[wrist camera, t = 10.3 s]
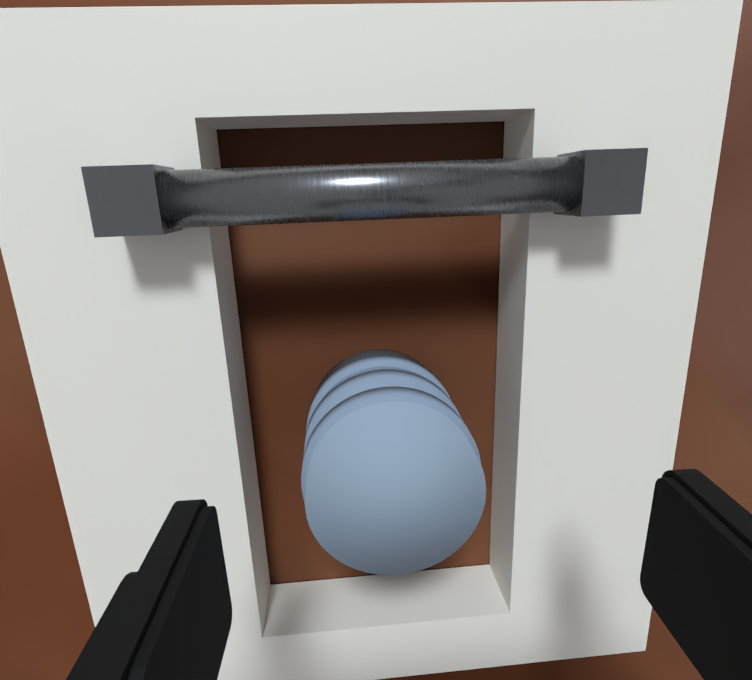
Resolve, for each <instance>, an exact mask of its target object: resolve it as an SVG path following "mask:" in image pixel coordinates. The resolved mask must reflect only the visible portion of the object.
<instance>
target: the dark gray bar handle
mask: <svg viewBox="0 0 752 680" xmlns="http://www.w3.org/2000/svg"><path fill="white" fill-rule="evenodd" d="M647 155H648V148H626V149H596V150H582V151H576V152H571V153H565V154H559V155H557V157H537V158H508V159H479V160H450V161H420V162H391V163H362V164H333V165H303V166H274V167H245V168H216V169H186V170H174V168H172V167H166V166H160V165H154V164H146V165H115V166H85V167H81V171H82V176H83V181H84V186H85V191H86V196H87V201H88V207H89V212H90V217H91V222H92V227H93V232H94V237H95V238H96V237H119V236H142V235H164V234H168V233H172V232H176V231H180V230H183V228H191V227H214V226H238V225H262V224H286V223H309V222H333V221H357V220H380V219H404V218H428V217H451V216H475V215H499V214H523V213H546V212H554V214H558V215H569V216H579V217H584V216H607V215H631V214H641V209H642V200H643V191H644V182H645V173H646V164H647Z"/></svg>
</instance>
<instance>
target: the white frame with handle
mask: <svg viewBox="0 0 752 680" xmlns="http://www.w3.org/2000/svg"><path fill="white" fill-rule="evenodd" d="M742 5H743V0H660V1H573V2H487V3H401V4H314V5H228V6H142V7H55V8H0V247H1V251H2V255H3V259H4V263H5V267H6V271H7V275H8V279H9V283H10V287H11V291H12V295H13V299H14V303H15V307H16V312H17V316H18V320H19V324H20V328H21V332H22V336H23V340H24V344H25V348H26V352H27V356H28V360H29V364H30V368H31V372H32V376H33V380H34V384H35V388H36V392H37V396H38V400H39V404H40V408H41V412H42V416H43V420H44V424H45V428H46V432H47V436H48V440H49V444H50V448H51V452H52V456H53V460H54V464H55V468H56V472H57V476H58V480H59V484H60V488H61V492H62V496H63V500H64V505H65V509H66V513H67V517H68V521H69V525H70V529H71V533H72V537H73V541H74V545H75V549H76V553H77V557H78V561H79V565H80V569H81V573H82V577H83V581H84V585H85V589H86V593H87V597H88V601H89V605H90V609H91V613H92V617H93V621H94V625H95V627H96V625H97V624H98V622H99V620H100V618H101V617H102V615H103V613H104V611H105V609H106V608H107V606H108V604H109V602H110V600H111V599H112V597H113V595H114V593H115V592H116V590H117V588H118V586H119V584H120V583H121V581H122V580H123V578H124V577H125V575H127V574H128V573H130V572H138V570H139V568H140V566H141V564H142V562H143V561H144V559H145V557H146V555H147V553H148V551H149V549H150V547H151V546H152V544H153V542H154V540H155V538H156V536H157V534H158V532H159V530H160V529H161V527H162V525H163V523H164V521H165V519H166V517H167V515H168V514H169V512H170V510H171V508H172V506H173V504H174V503H175V502H176V501H183V500H199V499H204V500H206V502H207V505H208V506H215V507H216V510H217V515H218V522H219V528H220V534H221V540H222V547H223V553H224V559H225V565H226V572H227V578H228V584H229V591H230V597H231V603H232V623H231V628H230V632H229V636H228V640H227V644H226V647H225V651H224V655H223V659H222V663H221V667H220V671H219V674H218V678H217V680H376V679H386V678H395V677H404V676H414V675H423V674H432V673H442V672H451V671H460V670H470V669H479V668H488V667H497V666H507V665H516V664H525V663H535V662H544V661H553V660H563V659H572V658H581V657H591V656H600V655H609V654H619V653H628V652H637V651H645V649H646V643H647V636H648V629H649V623H650V616H651V609H652V606H651V604H650V603H649V602H648V600H647V599H646V597H645V595H644V594H643V591H642V589H641V585H640V573H641V567H642V561H643V555H644V549H645V543H646V537H647V530H648V524H649V518H650V512H651V506H652V500H653V494H654V488H655V483H656V480H657V479H658V478H662V475H663V473H664V472H665V471H668V470H673V463H674V456H675V450H676V443H677V437H678V430H679V423H680V417H681V410H682V403H683V397H684V390H685V383H686V377H687V370H688V363H689V357H690V350H691V344H692V337H693V330H694V324H695V317H696V310H697V304H698V297H699V290H700V284H701V277H702V270H703V264H704V257H705V250H706V244H707V237H708V231H709V224H710V217H711V211H712V204H713V197H714V191H715V184H716V177H717V171H718V164H719V157H720V151H721V144H722V137H723V131H724V124H725V118H726V111H727V104H728V98H729V91H730V84H731V78H732V71H733V64H734V58H735V51H736V44H737V38H738V31H739V24H740V18H741V11H742ZM496 121H504V149H503V159H508V158H537V157H557V155H559V154H565V153H571V152H576V151H582V150H596V149H626V148H648V155H647V164H646V173H645V182H644V191H643V200H642V209H641V214H631V215H607V216H584V217H579V216H569V215H558V214H554V212H546V213H523V214H501V237H500V266H499V296H498V325H497V355H496V384H495V413H494V443H493V472H492V502H491V531H490V561H489V565H478V566H468V567H457V568H446V569H435V570H424V571H416V572H412V573H407V574H401V575H370V576H360V577H349V578H338V579H327V580H316V581H306V582H295V583H284V584H273V585H270V577H269V569H268V560H267V552H266V544H265V535H264V527H263V518H262V510H261V501H260V493H259V485H258V476H257V468H256V459H255V451H254V442H253V434H252V426H251V417H250V409H249V400H248V392H247V383H246V375H245V367H244V358H243V350H242V341H241V333H240V325H239V316H238V308H237V299H236V291H235V282H234V274H233V266H232V257H231V249H230V240H229V232H228V226H214V227H191V228H183V230H180V231H176V232H172V233H168V234H164V235H142V236H119V237H96V238H95V237H94V232H93V227H92V222H91V217H90V212H89V207H88V201H87V196H86V191H85V186H84V181H83V176H82V171H81V167H85V166H115V165H146V164H154V165H160V166H166V167H172V168H174V170H186V169H216V168H221V164H220V156H219V148H218V139H217V131H216V130H218V129H253V128H288V127H323V126H357V125H392V124H427V123H462V122H496Z"/></svg>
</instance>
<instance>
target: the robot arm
mask: <svg viewBox="0 0 752 680" xmlns="http://www.w3.org/2000/svg"><path fill="white" fill-rule="evenodd" d="M640 585H641V589H642V591H643V594H644V595H645V597H646V599H647V600H648V602H649V603H650V604H651V606H652V607H653V609H654V610H655V611H656V613H657V614H658V616H659V617H660V618H661V620H662V621H663V623H664V624H665V625H666V627H667V628H668V630H669V631H670V633H671V634H672V635H673V637H674V638H675V640H676V641H677V642H678V644H679V645H680V647H681V648H682V649H683V651H684V652H685V654H686V655H687V656H688V658H689V659H690V661H691V662H692V664H693V665H694V666H695V668H696V669H697V671H698V672H699V673H700V675H701V676H702V678H703V679H704V680H752V514H750V513H749V512H748V511H747V510H746V509H744V508H743V507H742V506H741V505H740V504H738V503H737V502H736V501H735V500H734V499H732V498H731V497H730V496H729V495H728V494H726V493H725V492H724V491H723V490H722V489H720V488H719V487H718V486H717V485H716V484H714V483H713V482H712V481H711V480H710V479H708V478H707V477H706V476H705V475H704V474H702V473H701V472H700V471H698V470H696V469H681V470H668V471H665V472H664V473H663V475H662V478H658V479H657V480H656V483H655V488H654V494H653V500H652V506H651V512H650V518H649V524H648V530H647V537H646V543H645V549H644V555H643V561H642V567H641V573H640ZM231 623H232V603H231V597H230V591H229V584H228V578H227V572H226V565H225V559H224V553H223V547H222V540H221V534H220V528H219V522H218V515H217V510H216V507H215V506H208V505H207V502H206V500H204V499H199V500H183V501H176V502H175V503H174V504H173V506H172V508H171V510H170V512H169V514H168V515H167V517H166V519H165V521H164V523H163V525H162V527H161V529H160V530H159V532H158V534H157V536H156V538H155V540H154V542H153V544H152V546H151V547H150V549H149V551H148V553H147V555H146V557H145V559H144V561H143V562H142V564H141V566H140V568H139V570H138V572H130V573H128V574H127V575H125V577H124V578H123V580H122V581H121V583H120V584H119V586H118V588H117V590H116V592H115V593H114V595H113V597H112V599H111V600H110V602H109V604H108V606H107V608H106V609H105V611H104V613H103V615H102V617H101V618H100V620H99V622H98V624H97V625H96V627H95V629H94V631H93V633H92V634H91V636H90V638H89V640H88V642H87V643H86V645H85V647H84V649H83V650H82V652H81V654H80V656H79V658H78V659H77V661H76V663H75V665H74V667H73V668H72V670H71V672H70V674H69V675H68V677H67V679H66V680H217V678H218V674H219V671H220V667H221V663H222V659H223V655H224V651H225V647H226V644H227V640H228V636H229V632H230V628H231Z"/></svg>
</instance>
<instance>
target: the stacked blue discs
mask: <svg viewBox="0 0 752 680" xmlns="http://www.w3.org/2000/svg"><path fill="white" fill-rule="evenodd" d="M301 488H302V494H303V499H304V502H305V510H306V516H307V520H308V523H309V526H310V529H311V531H312V533H313V534H314V536H315V538H316V539H317V541H318V542H319V544H320V545H321V546H322V547H323V548H324V549H325V550H326V551H327V552H328V553H329V554H330V555H331V556H333V557H334V558H335V559H336V560H338V561H340V562H341V563H343V564H345V565H347V566H349V567H351V568H354V569H356V570H359V571H363V572H366V573H372V574H378V575H401V574H407V573H412V572H416V571H420V570H423V569H426V568H428V567H431V566H433V565H435V564H437V563H439V562H441V561H443V560H444V559H446V558H447V557H449V556H450V555H452V554H453V553H454V552H455V551H457V550H458V549H459V548H460V547H461V546H462V545H463V544H464V543H465V542H466V541H467V540H468V538H469V537H470V536H471V534H472V533H473V532H474V530H475V528H476V526H477V524H478V523H479V520H480V518H481V515H482V513H483V509H484V505H485V498H486V482H485V477H484V472H483V469H482V466H481V460H480V455H479V451H478V448H477V446H476V443H475V441H474V439H473V437H472V435H471V434H470V432H469V430H468V428H467V427H466V425H465V423H464V421H463V420H462V418H461V416H460V414H459V412H458V411H457V409H456V407H455V405H454V404H453V402H452V400H451V399H450V397H449V395H448V393H447V391H446V390H445V388H444V386H443V385H442V383H441V382H440V381H439V379H438V378H437V377H436V376H435V375H434V374H433V373H432V372H431V371H429V370H428V369H427V368H426V367H425V366H424V365H422V364H421V363H420V362H418V361H417V360H416V359H414V358H412V357H410V356H408V355H406V354H403V353H400V352H396V351H391V350H369V351H364V352H360V353H357V354H354V355H352V356H350V357H348V358H346V359H344V360H342V361H341V362H339V363H338V364H337V365H335V366H334V367H333V368H332V369H331V370H330V371H329V372H328V373H327V375H326V376H325V377H324V378H323V380H322V382H321V383H320V385H319V387H318V389H317V392H316V393H315V395H314V397H313V400H312V402H311V405H310V408H309V412H308V419H307V428H306V438H305V446H304V457H303V465H302V474H301Z"/></svg>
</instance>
